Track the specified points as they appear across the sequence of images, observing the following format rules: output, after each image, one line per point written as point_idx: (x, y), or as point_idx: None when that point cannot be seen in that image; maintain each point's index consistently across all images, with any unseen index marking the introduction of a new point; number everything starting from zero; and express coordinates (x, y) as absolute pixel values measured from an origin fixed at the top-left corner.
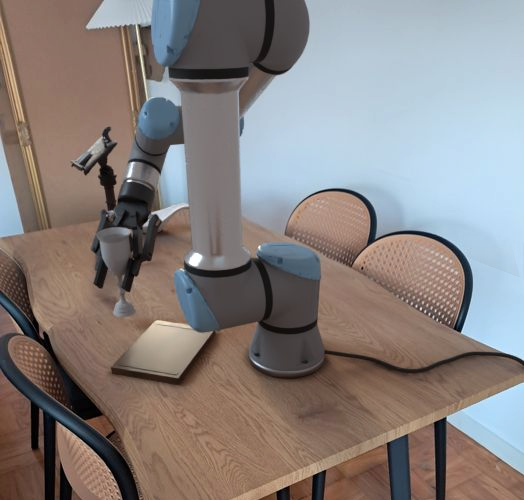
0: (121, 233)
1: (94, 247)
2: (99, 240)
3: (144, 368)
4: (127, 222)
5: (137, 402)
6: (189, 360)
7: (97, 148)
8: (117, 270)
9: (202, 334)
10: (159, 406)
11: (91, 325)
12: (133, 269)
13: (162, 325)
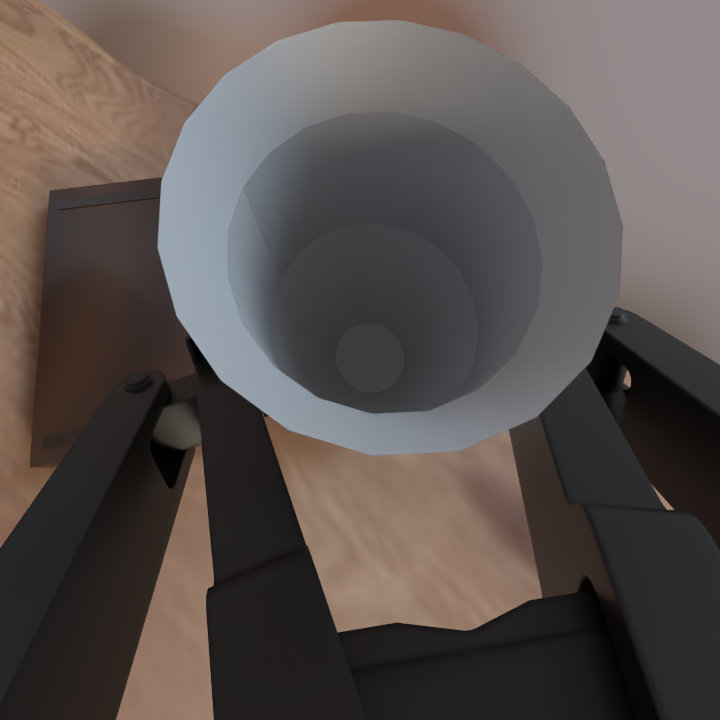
0: (410, 412)
1: (611, 320)
2: (643, 372)
3: (150, 191)
4: (472, 680)
5: (129, 124)
6: (50, 267)
7: None
8: (336, 294)
9: (61, 411)
10: (77, 130)
11: None
12: None
13: None
